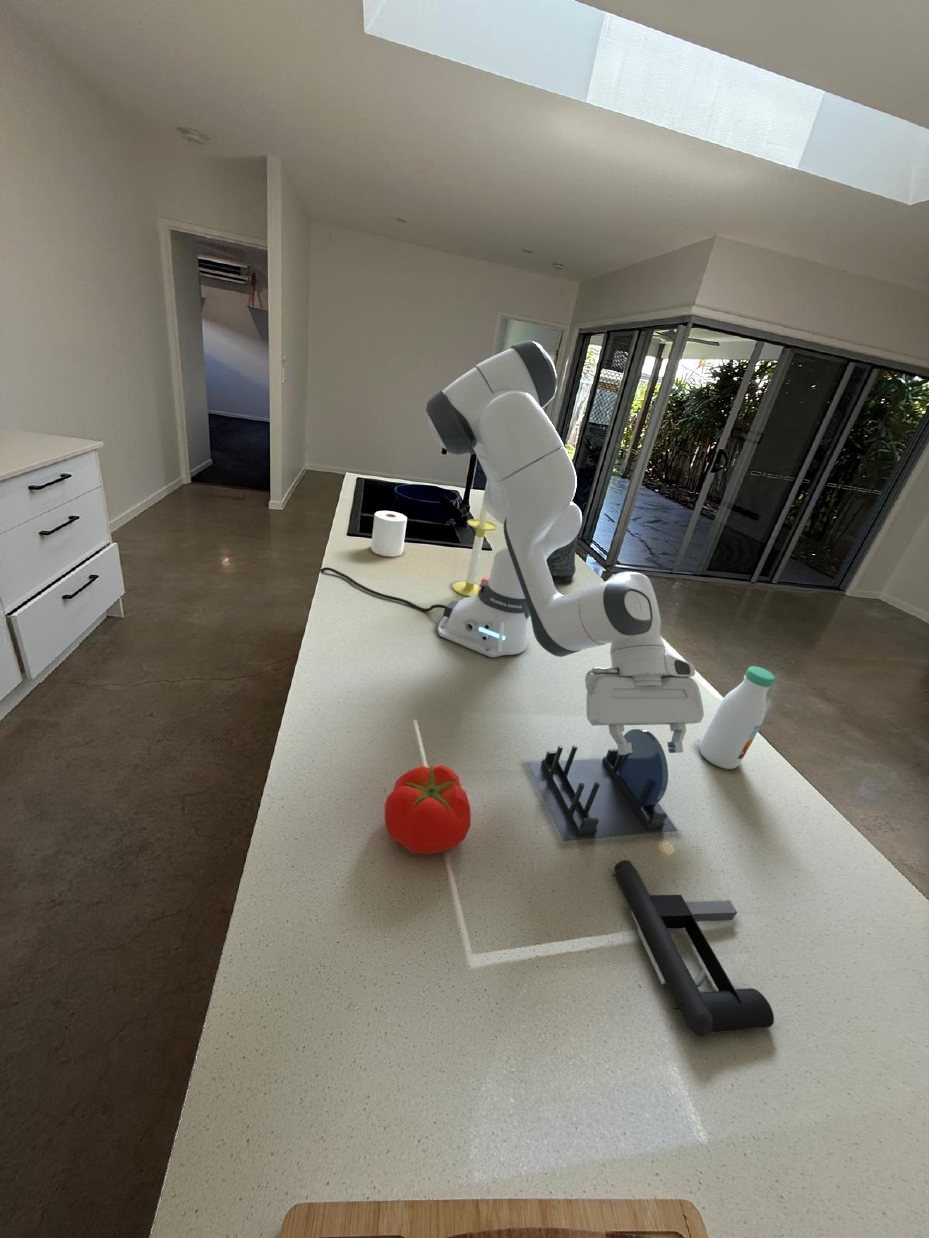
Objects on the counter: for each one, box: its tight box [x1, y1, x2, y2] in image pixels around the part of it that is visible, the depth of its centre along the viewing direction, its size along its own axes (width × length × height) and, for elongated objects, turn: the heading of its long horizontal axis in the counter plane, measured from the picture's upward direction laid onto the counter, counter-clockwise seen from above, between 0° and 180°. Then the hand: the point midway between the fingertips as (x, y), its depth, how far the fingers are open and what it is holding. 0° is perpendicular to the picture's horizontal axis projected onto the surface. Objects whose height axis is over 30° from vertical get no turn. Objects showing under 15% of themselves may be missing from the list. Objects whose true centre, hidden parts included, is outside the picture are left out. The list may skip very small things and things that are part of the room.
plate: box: [618, 728, 669, 806], centre depth 83 cm, size 12×1×12 cm, turn 14°
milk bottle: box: [698, 665, 776, 770], centre depth 96 cm, size 8×8×20 cm
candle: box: [452, 479, 498, 598], centre depth 143 cm, size 10×10×38 cm
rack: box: [526, 744, 678, 842], centre depth 83 cm, size 16×20×8 cm
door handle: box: [611, 859, 775, 1037], centre depth 64 cm, size 3×20×16 cm
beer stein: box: [546, 535, 578, 584], centre depth 170 cm, size 16×19×25 cm
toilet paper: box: [370, 510, 408, 558], centre depth 164 cm, size 10×10×12 cm
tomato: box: [384, 764, 472, 855], centre depth 71 cm, size 13×12×8 cm
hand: (651, 753), depth 81 cm, fingers open, 8 cm apart
